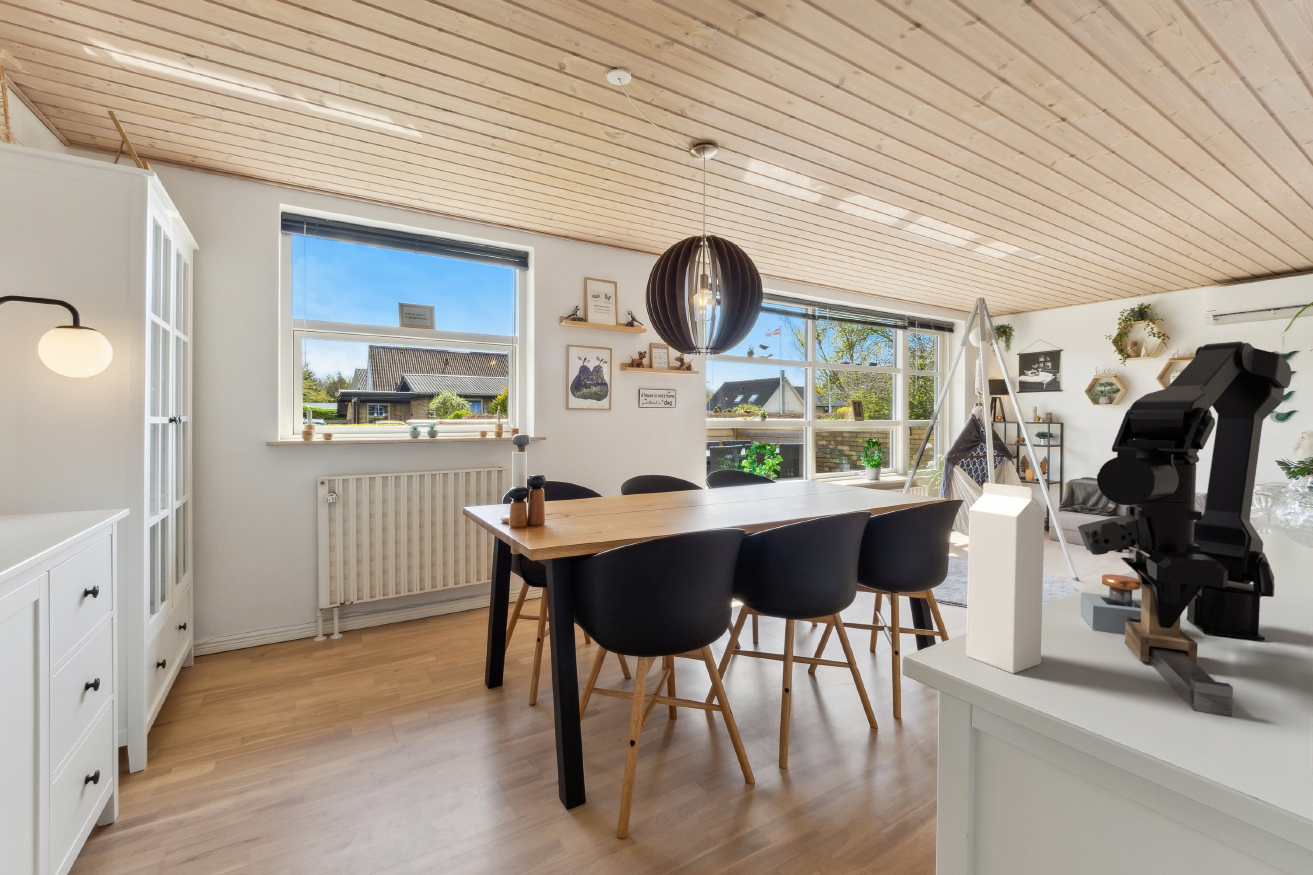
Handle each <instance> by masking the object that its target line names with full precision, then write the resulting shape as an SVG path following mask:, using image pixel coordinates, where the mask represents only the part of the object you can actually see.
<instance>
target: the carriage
mask: <svg viewBox="0 0 1313 875" xmlns="http://www.w3.org/2000/svg"><path fill="white" fill-rule="evenodd" d="M1141 599H1142V601H1141V623H1138V622H1129V621H1125V634H1124V644H1125V646H1126V647H1127V648H1129V650H1130V651H1131V653H1132V654H1134V655H1135V657H1136V658H1137V659H1138V660H1139V661H1140V662H1146V663H1147V662H1148V663H1149V661H1148V656H1149V646H1155V647H1163V648H1171V649H1179V650H1181V651H1182V652H1183V653H1184V654H1185V655H1186V656H1188V657H1189V658H1190V659H1191V660H1192V661H1193V662H1194V663H1195V664H1196V665H1198V647H1199V646H1198V645H1199V644H1198V642H1196V641H1195V640H1194V639H1192V638H1191V637H1190V636H1189V635H1187V634H1186V633H1185V631H1183V630H1182V629H1181V616H1180V617H1179V618H1178V619H1177V621H1176V622H1175V623H1174V625H1173V626H1172V627H1171V628H1163V627H1160V626H1159V623H1158V618H1157V612H1156V606H1155V599H1154V593H1153V586H1152V585H1147V584H1142V589H1141Z"/></svg>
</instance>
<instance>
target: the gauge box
mask: <svg viewBox="0 0 1313 875" xmlns="http://www.w3.org/2000/svg"><path fill="white" fill-rule="evenodd" d="M1141 601H1142V597H1140V598H1139V597H1132V607H1125V606H1116V605H1109V594H1101V593H1092V592H1091V593H1090V592H1082V591H1081V593H1080V614H1081V615H1082V616H1081V615H1080V616H1081V617H1082V618H1084V619H1085V620H1084V619H1083V620H1084V621H1085V623H1086V624H1087V623H1088V624H1089V625H1090V626H1089V625H1088V624H1087V625H1088V626H1089V627H1090V628H1092V629H1093V630H1092V629H1091V630H1092V631H1097V630H1101V631H1100V632H1105V631H1107V632H1106V633H1113V632H1116V633H1115V634H1121V633H1122V635H1125V621H1127V616H1132V617H1141ZM1094 629H1095V630H1094Z"/></svg>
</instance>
